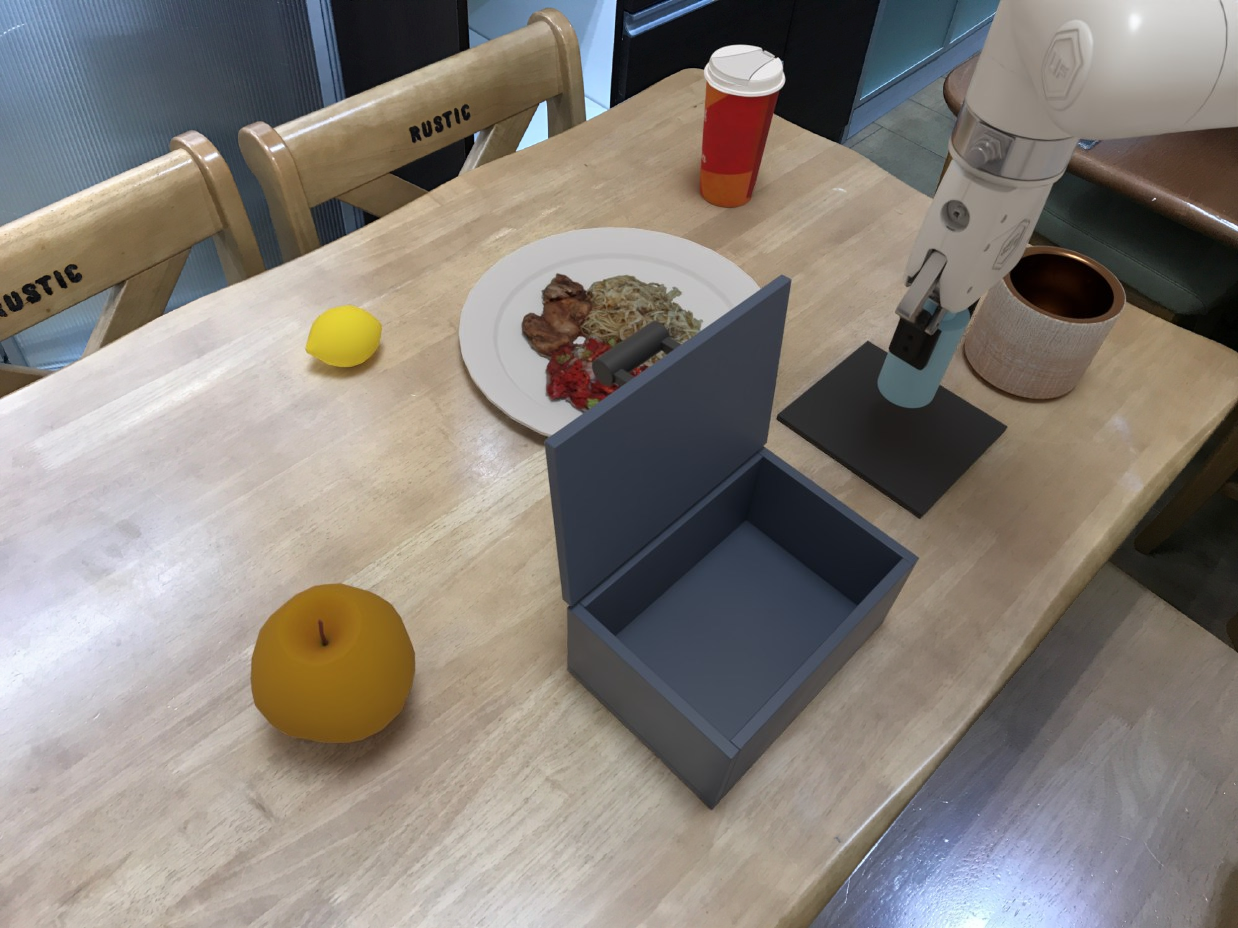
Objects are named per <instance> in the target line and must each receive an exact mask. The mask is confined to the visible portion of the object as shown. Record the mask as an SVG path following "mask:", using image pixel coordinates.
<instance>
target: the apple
mask: <svg viewBox="0 0 1238 928" xmlns="http://www.w3.org/2000/svg"><path fill="white" fill-rule="evenodd" d="M250 661H251V664H250V689H251V694H252V699H253V703H254V706H255V708H256V709H257V710H258V711H259V712H260V714H261V715H262V716H263V717H264V719H265V720H266V721H267V722H268V723H269V724H270V725H271V726H272V727H273V728H275V729H276V730H278V731H280V732H281V733H283V734H285V735H286V736H288V737H291V738H296V739H302V740H307V741H308V740H309V741H313V742H320V743H327V744H329V743H330V744H331V743H332V744H333V743H335V744H350V743H354V742H358V741H363V740H365V739H367V738H369V737H371V736H373V735H375V734H377V733H379V732H381V731H383V730H384V729H385V728H386V727H387V726H388V725H389V724H391V722H392V721H393V720H394V719H395V718H396V717H397V716H398V715H399V714H400V713H401V712H402V711H403V709H404V706H405V704H406V701H407V698H408V697H409V694H410V691H411V689H412V686H413V681H414V679H415V673H416V651H415V649H414V645H413V643H412V640H411V637H410V635H409V633H408V631H407V628H406V626H405V623H404V620H403V619H402V616H401V615H400V614H399V612H398V611H397V609H396V608H395V607H394V605H393V604H392V603H391V602H389V601H387V600H386V599H384V598H383V597H382V596H380V595H378V594H376V593H374V592H372V591H370V590H367V589H364V588H359V587H356V586H352V585H348V584H345V583H340V582H339V583H323V584H316V585H313V586H311V587H309V588H307V589H304V590H302V591H301V592H299V593H296V594H294V595H293V596H292V597H291V598H289V599H288V600H287V601H285V603H283V604H282V605H281V606H280V607H278V609H276V610H275V611H274V612H272V614H271V615H270V616H269V617H268V618H267V619H266V621H265V622H264V624H263V625H262V626H261V627H260V629H259V631H258V634H257V638H256V642H255V644H254V648H253V651H252V655H251V659H250Z"/></svg>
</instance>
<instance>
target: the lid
mask: <svg viewBox="0 0 1238 928" xmlns="http://www.w3.org/2000/svg"><path fill="white" fill-rule="evenodd" d="M792 281H793V280H792V278H790V277H789V276H786V275H784V274H779V276H777V277H776V278H774V279H772V280H771V281H770V282H768V283H767V284H765V285H764V286H763V287H762V288H761V287H760V290H759V291H757V292H756V293H754V294H753V295H751V296H750V297H749V298H747V299H746V300H744V301H743V302H741V303H740V304H739V305H737V306H736V307H734V308H733V309H731V310H730V311H729V312H727V313H726V314H724V315H723V316H721V317H720V318H719V319H717V320H716V321H714V322H713V323H711V324H710V325H709V326H707V327H706V328H704V329H703V330H701V331H700V332H699V333H697V334H696V335H694V336H693V337H691V338H690V339H689V340H687V341H686V342H684V343H683V344H680V343H678V342H677V341H675V340H673V339H672V338H670V334H669V332H668V330H667V328H666V327H665V326H664V325H663V324H662V323H660V322H658V321H652V322H650V323H649V324H647V325H646V326H644V327H643V328H641V329H640V330H638V331H637V332H635V333H634V334H632V335H631V336H629V337H628V338H626V339H625V340H623V341H622V342H620V343H619V344H617V345H616V346H614V347H613V348H611V349H610V350H608V351H607V352H605V353H604V354H602V355H601V356H599V357H598V358H596V359H595V360H593V362H592V370H593V373H594V375H595V376H596V378H597V379H598V380H599V381H600V382H601V383H602V384H603V385H605V386H611V385H613V384H614V383H615V384H617V385H618V386H620V388H619V389H617V390H616V391H614V392H613V393H611V394H610V395H609V396H607V397H606V398H604V399H603V400H601V401H600V402H599V403H597V404H596V405H594V406H593V407H591V408H590V409H589V410H587V411H586V412H584V413H583V414H581V415H580V416H579V417H577V418H576V419H574V420H573V421H572V422H570V423H569V424H567V425H566V426H564V427H563V428H562V429H560V430H559V431H557V432H556V433H554V434H553V435H552V436H550V437H547V438H546V439H544V450H545V459H546V468H547V476H548V477H547V478H548V486H549V493H550V502H551V503H550V504H551V511H552V521H553V529H554V537H555V546H556V555H557V563H558V572H559V581H560V589H561V597H562V600H563V602H565V603H566V604H567V606H569V605H570V606H572V605H574V604H575V603H576V602H577V601H578V600H580V599H581V598H582V597H583V596H584V595H585V594H587V593H588V592H589V591H590V590H591V589H593V588H594V587H595V586H596V585H597V584H599V583H600V582H601V581H602V580H603V579H605V578H606V577H607V576H608V575H609V574H611V573H612V572H613V571H614V570H615V569H617V568H618V567H619V566H620V565H621V564H623V563H624V562H625V561H626V560H627V559H629V558H630V557H631V556H632V555H633V554H635V553H636V552H637V551H638V550H639V549H641V548H642V547H643V546H644V545H645V544H647V543H648V542H649V541H650V540H651V539H653V538H654V537H655V536H656V535H657V534H659V533H660V532H661V531H662V530H663V529H665V528H666V527H667V526H668V525H669V524H671V523H672V522H673V521H674V520H675V519H676V518H678V517H679V516H680V515H681V514H682V513H684V512H685V511H686V510H687V509H688V508H690V507H691V506H692V505H693V504H694V503H696V502H697V501H698V500H699V499H700V498H702V497H703V496H704V495H705V494H706V493H708V492H709V491H710V490H711V489H712V488H714V487H715V486H716V485H717V484H718V483H720V482H721V481H722V480H723V479H724V478H726V477H727V476H728V475H729V474H730V473H732V472H733V471H734V470H735V469H736V468H738V467H739V466H740V465H741V464H742V463H744V462H745V461H746V460H747V459H748V458H750V457H751V456H752V455H753V454H754V453H756V452H757V451H758V450H759V449H760V448H761V447H763V446H764V447H765V445H767V444H768V438H769V431H770V425H771V420H772V411H773V405H774V399H775V394H776V393H775V392H776V387H777V386H776V385H777V379H778V371H779V365H780V362H779V360H780V361H781V353H782V347H783V346H782V345H783V340H784V334H785V327H786V319H787V313H788V307H789V299H790V295H791V294H790V293H791V287H792ZM660 351H663V352H665V353H666V354H667V355H666V356H664V357H663V358H661V359H660V360H659V361H657V362H656V363H654V364H653V365H651V366H650V367H649V368H647V369H646V370H644V371H643V372H641V373H640V374H639V375H637V376H636V377H634V376H632V375H631V374H629V373H630V372H632V371H633V370H634V369H636V368H637V367H639V366H640V365H642V364H643V363H645V362H646V361H647V360H649V359H650V358H652V357H653V356H655V355H656V354H658V353H659V352H660Z"/></svg>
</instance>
